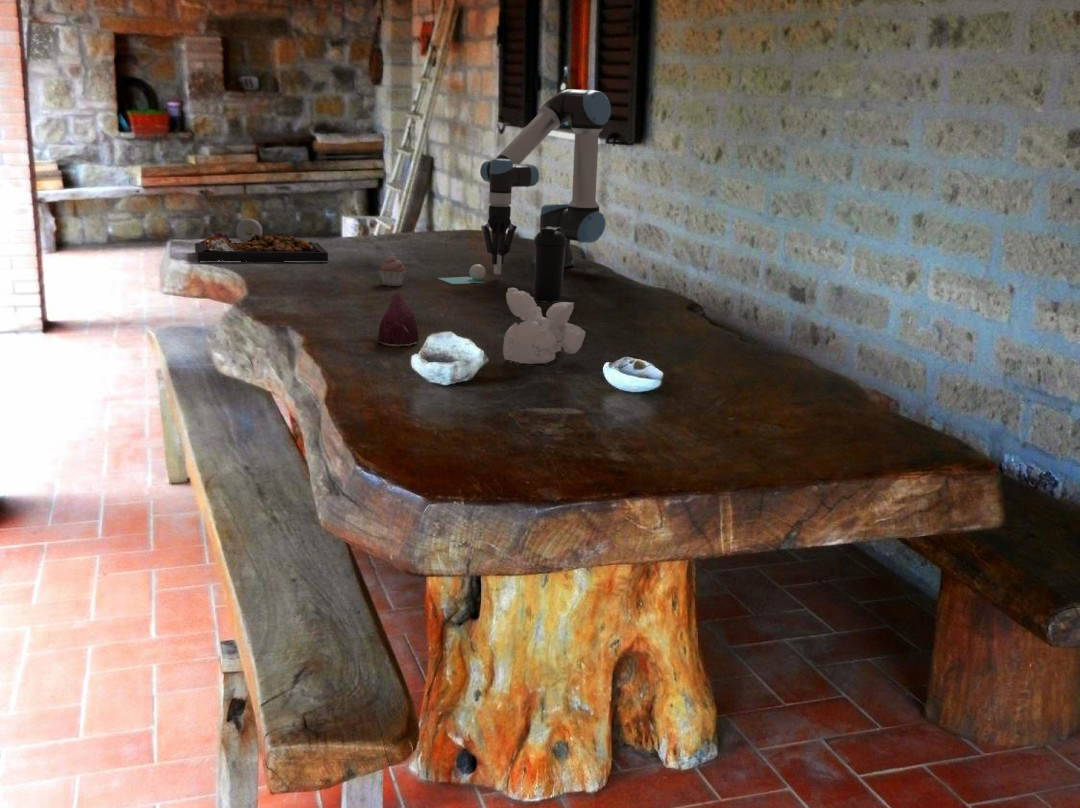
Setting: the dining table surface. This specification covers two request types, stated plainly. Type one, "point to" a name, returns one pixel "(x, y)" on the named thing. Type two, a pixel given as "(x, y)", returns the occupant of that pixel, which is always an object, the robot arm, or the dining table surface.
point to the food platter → (259, 249)
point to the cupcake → (392, 271)
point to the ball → (477, 272)
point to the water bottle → (549, 264)
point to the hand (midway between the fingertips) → (497, 273)
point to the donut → (244, 224)
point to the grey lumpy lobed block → (539, 330)
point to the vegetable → (398, 323)
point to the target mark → (460, 280)
